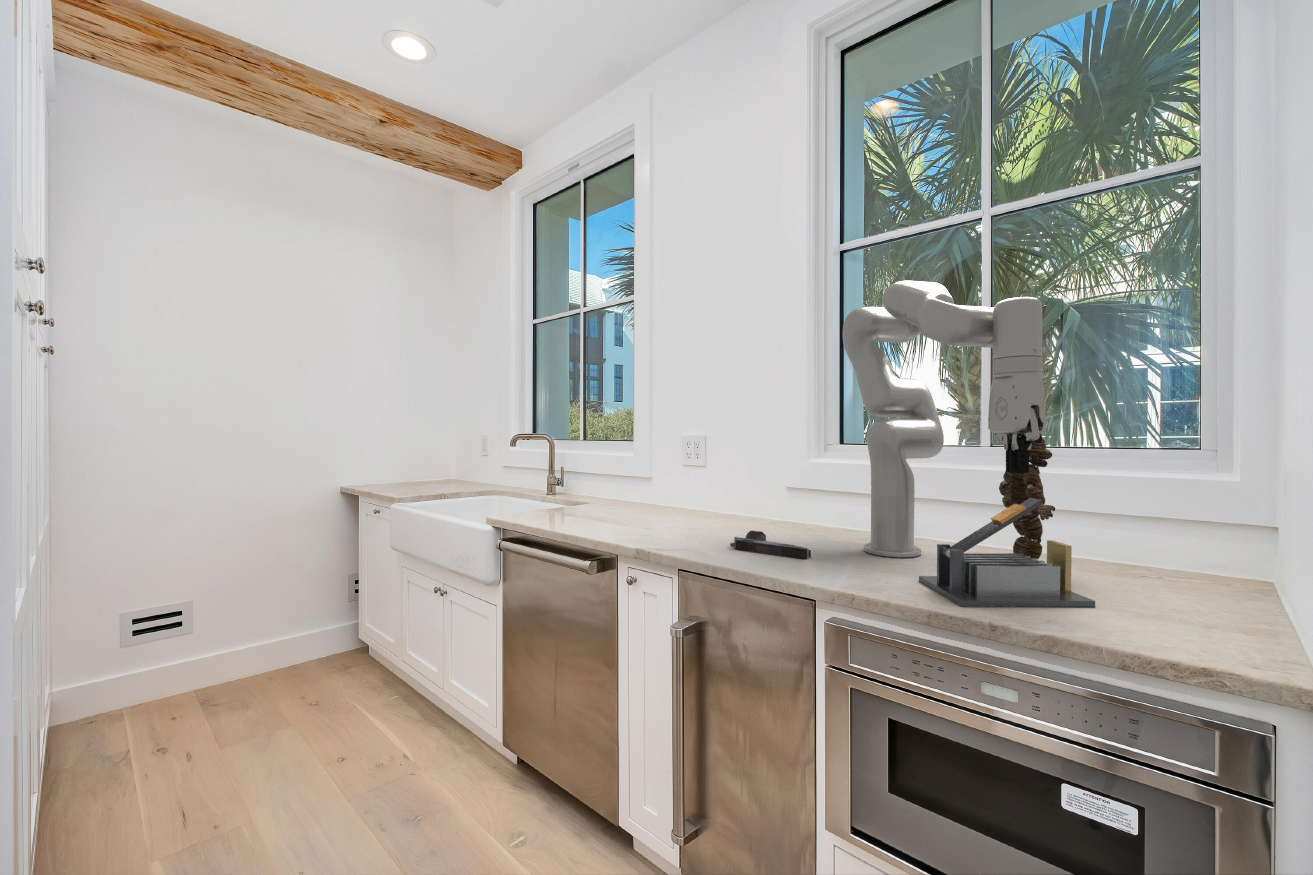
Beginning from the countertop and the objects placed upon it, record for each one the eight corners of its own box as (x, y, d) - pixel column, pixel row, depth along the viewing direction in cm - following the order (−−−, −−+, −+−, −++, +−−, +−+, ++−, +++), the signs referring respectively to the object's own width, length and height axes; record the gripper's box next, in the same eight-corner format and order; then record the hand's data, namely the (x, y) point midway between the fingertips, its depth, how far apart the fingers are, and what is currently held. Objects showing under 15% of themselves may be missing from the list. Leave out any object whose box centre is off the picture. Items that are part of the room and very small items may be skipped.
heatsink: (961, 606, 97) (961, 552, 97) (918, 581, 113) (919, 534, 113) (1095, 606, 97) (1096, 552, 97) (1033, 581, 113) (1034, 534, 113)
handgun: (748, 530, 154) (725, 538, 144) (825, 539, 141) (805, 548, 132) (748, 542, 154) (725, 551, 144) (825, 552, 141) (806, 563, 132)
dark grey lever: (953, 561, 103) (948, 553, 103) (944, 557, 107) (939, 549, 107) (1045, 505, 103) (1040, 497, 103) (1032, 502, 107) (1027, 494, 107)
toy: (1071, 585, 111) (1073, 425, 110) (1030, 583, 112) (1032, 425, 112) (1027, 561, 130) (1028, 425, 130) (993, 559, 132) (994, 425, 131)
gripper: (973, 373, 112) (974, 470, 112) (1021, 364, 97) (1021, 475, 97) (1013, 373, 112) (1013, 470, 112) (1067, 364, 97) (1067, 475, 97)
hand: (1017, 472), depth 105 cm, fingers closed
